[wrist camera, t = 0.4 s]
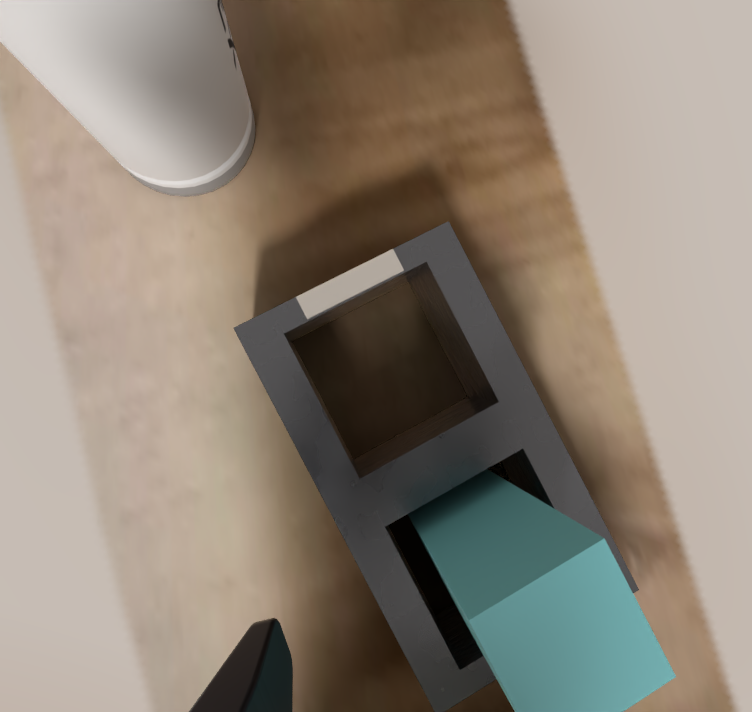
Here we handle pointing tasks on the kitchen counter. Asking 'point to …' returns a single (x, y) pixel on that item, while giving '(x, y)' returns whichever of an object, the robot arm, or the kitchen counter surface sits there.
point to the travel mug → (143, 83)
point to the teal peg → (541, 599)
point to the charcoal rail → (420, 441)
